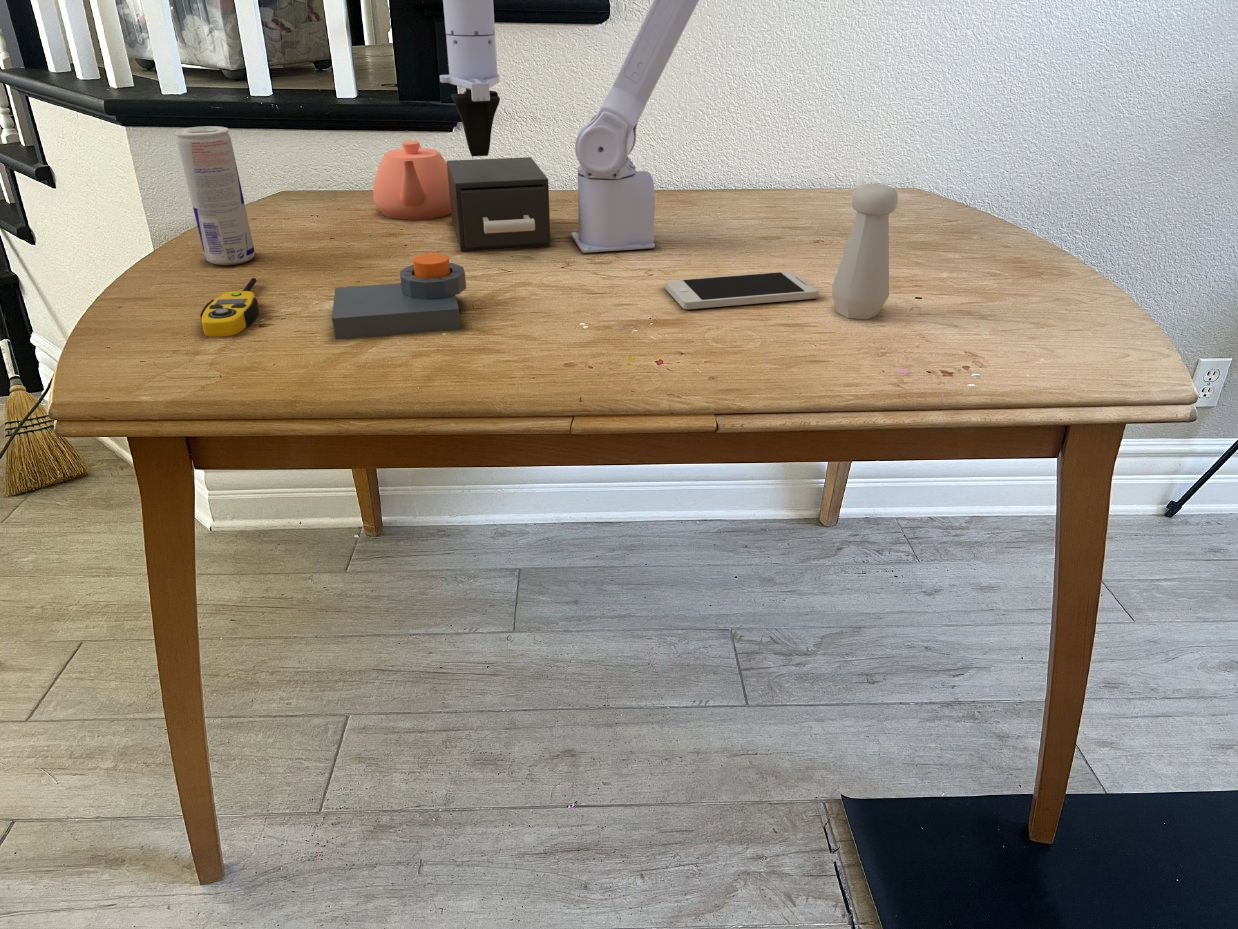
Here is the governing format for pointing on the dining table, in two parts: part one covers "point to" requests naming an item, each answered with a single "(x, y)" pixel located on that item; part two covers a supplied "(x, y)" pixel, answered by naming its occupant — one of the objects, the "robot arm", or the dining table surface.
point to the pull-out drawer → (504, 215)
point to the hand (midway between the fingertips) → (479, 155)
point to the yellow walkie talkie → (230, 312)
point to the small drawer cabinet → (492, 175)
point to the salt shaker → (866, 254)
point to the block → (399, 305)
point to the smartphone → (740, 290)
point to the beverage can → (216, 194)
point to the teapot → (412, 183)
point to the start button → (431, 265)
